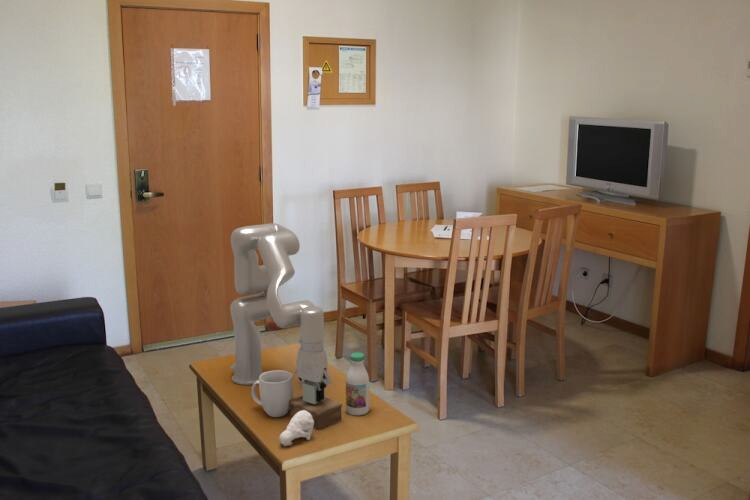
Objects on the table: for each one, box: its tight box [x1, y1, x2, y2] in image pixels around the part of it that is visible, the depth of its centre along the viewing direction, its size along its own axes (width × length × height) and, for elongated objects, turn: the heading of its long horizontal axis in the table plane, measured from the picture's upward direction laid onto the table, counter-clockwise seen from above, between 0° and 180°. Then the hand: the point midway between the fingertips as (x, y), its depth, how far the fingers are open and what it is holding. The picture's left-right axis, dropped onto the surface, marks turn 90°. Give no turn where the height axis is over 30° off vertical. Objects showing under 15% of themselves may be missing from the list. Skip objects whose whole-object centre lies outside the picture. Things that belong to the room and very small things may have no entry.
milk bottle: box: [345, 352, 370, 416], centre depth 240 cm, size 8×8×20 cm
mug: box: [250, 369, 294, 418], centre depth 241 cm, size 15×11×13 cm
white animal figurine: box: [278, 410, 314, 447], centre depth 221 cm, size 6×8×12 cm
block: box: [301, 381, 326, 404], centre depth 235 cm, size 5×5×6 cm
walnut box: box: [289, 395, 343, 431], centre depth 236 cm, size 14×10×6 cm
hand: (313, 397), depth 235 cm, fingers closed on block, 5 cm apart
